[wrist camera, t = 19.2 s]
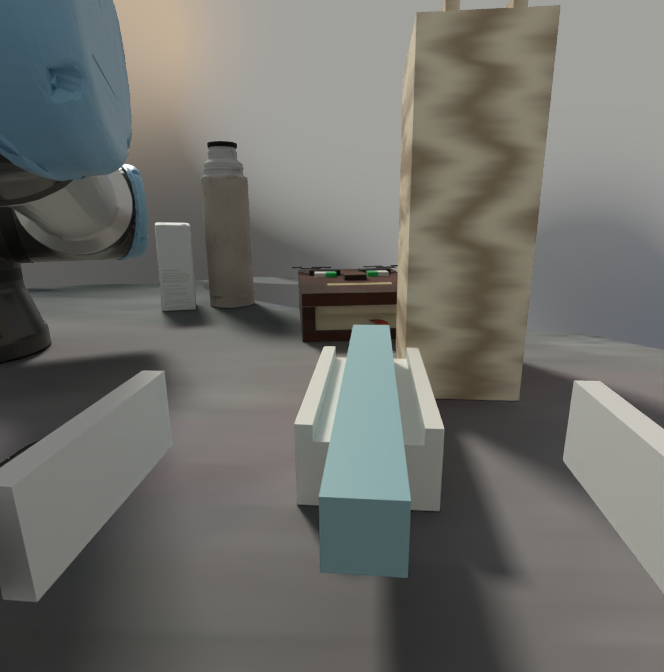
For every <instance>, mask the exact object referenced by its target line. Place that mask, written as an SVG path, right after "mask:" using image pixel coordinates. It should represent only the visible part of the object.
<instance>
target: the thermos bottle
mask: <svg viewBox="0 0 664 672" xmlns="http://www.w3.org/2000/svg"><path fill="white" fill-rule="evenodd" d="M207 145H208V148H209V151H208V160H207V161H206V162H205V163H204V169H203V170H204V176H202V177H201V192H202V203H203V214H204V215H203V216H204V227H205V228H204V229H205V241H206V253H207V265H208V277H209V290H210V303H211V306H214V307H219V308H235V307H244V306H249V305H252V304H254V290H253V271H252V253H251V236H250V217H249V199H248V183H247V182H248V181H247V177H245V176H243V167H242V166H243V165H242V163H240V162H239V161H238V160H237V153H236V150H235V149H236V148H237V144H236V143H233V142H226V141H215V142H208V143H207Z"/></svg>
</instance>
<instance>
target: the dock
mask: <svg viewBox="0 0 664 672" xmlns="http://www.w3.org/2000/svg"><path fill="white" fill-rule="evenodd" d="M345 363H346V358H336V346H324V348H323V350H322V353H321V355H320V358H319V361H318V363H317V366H316V369H315V371H314V374H313V376H312V379H311V382H310V384H309V387H308V389H307V392H306V395H305V397H304V400H303V403H302V405H301V408H300V410H299V413H298V416H297V418H296V421H295V423H294V433H295V462H296V491H297V504H298V505H319V493H320V488H321V483H322V478H323V473H324V468H325V463H326V458H327V453H328V448H329V443H330V438H331V433H332V428H333V423H334V418H335V413H336V408H337V403H338V398H339V393H340V388H341V383H342V378H343V373H344V368H345ZM394 368H395V376H396V384H397V392H398V400H399V408H400V416H401V424H402V432H403V440H404V448H405V456H406V465H407V473H408V481H409V489H410V497H411V510H423V511H440V497H441V481H442V464H443V448H444V431H445V429H444V426H443V423H442V419H441V416H440V413H439V410H438V407H437V404H436V401H435V398H434V395H433V392H432V389H431V386H430V383H429V379H428V376H427V373H426V370H425V367H424V364H423V361H422V358H421V355H420V352H419V349H418V348H406V359H394Z"/></svg>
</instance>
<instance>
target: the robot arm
mask: <svg viewBox="0 0 664 672" xmlns="http://www.w3.org/2000/svg"><path fill="white" fill-rule="evenodd" d="M125 64H126V63H125V55H124V49H123V43H122V37H121V32H120V27H119V21H118V18H117V13H116V10H115V6H114V3H113V0H0V362H3V361H7V360H12V359H15V358H19V357H23V356H26V355H29V354H32V353H35V352H37V351H39V350H42V349H44V348H45V347H47V346H48V345H49V344H50V343H51V338H50V333H49V327H48V325H47V323H46V322H45V321H44V320H43V319H42V317H41V315H40V313H39V311H38V309H37V307H36V305H35V303H34V301H33V299H32V298H31V296H30V294H29V292H28V291H27V289H26V287H25V284H24V280H23V276H22V270H21V263H30V262H31V263H34V262H48V261H78V260H105V259H117V260H126V259H128V258H136V257H140V256H142V255H143V254H144V253H145V251H146V249H147V243H148V242H147V241H148V239H147V234H148V221H147V207H146V199H145V192H144V187H143V182H142V180H141V176H140V172H139V171H138V169H137V168H136V167H134V166H132V165H125V164H124V163H125V162H126V159H127V157H128V149H129V146H130V141H131V108H130V93H129V84H128V77H127V70H126V65H125ZM172 446H173V443H172V434H171V425H170V416H169V407H168V398H167V389H166V381H165V372H164V371H145V370H142V371H141V372H139V373H138V374H137V375H135V376H134V377H132V378H131V379H129V380H128V381H126V382H125V383H123V384H122V385H120V386H119V387H118V388H116V389H115V390H113V391H112V392H110V393H109V394H107V395H106V396H104V397H103V398H101V399H100V400H99V401H97V402H96V403H94V404H93V405H91V406H90V407H88V408H87V409H85V410H84V411H82V412H81V413H80V414H78V415H77V416H75V417H74V418H72V419H71V420H69V421H68V422H66V423H65V424H63V425H62V426H61V427H59V428H58V429H56V430H55V431H53V432H52V433H50V434H49V435H47V436H46V437H44V438H43V439H41V440H39V441H37V442H34V443H32V444H30V445H28V446H26V447H24V448H23V449H21V450H20V451H18V452H17V453H15V454H14V455H12V456H11V457H10V459H6V460H5V461H3V462H2V463H0V588H1V593H2V597H3V600H15V601H29V602H38V601H39V600H40V598H41V597H42V596H43V595H44V594H45V593H46V591H47V590H48V589H49V588H50V587H51V586H52V584H53V583H54V582H55V581H56V580H57V579H58V578H59V576H60V575H61V574H62V573H63V572H64V571H65V569H66V568H67V567H68V566H69V565H70V564H71V562H72V561H73V560H74V559H75V558H76V557H77V556H78V554H79V553H80V552H81V551H82V550H83V549H84V547H85V546H86V545H87V544H88V543H89V542H90V540H91V539H92V538H93V537H94V536H95V535H96V534H97V532H98V531H99V530H100V529H101V528H102V527H103V525H104V524H105V523H106V522H107V521H108V520H109V518H110V517H111V516H112V515H113V514H114V513H115V512H116V510H117V509H118V508H119V507H120V506H121V505H122V503H123V502H124V501H125V500H126V499H127V498H128V496H129V495H130V494H131V493H132V492H133V491H134V490H135V488H136V487H137V486H138V485H139V484H140V483H141V481H142V480H143V479H144V478H145V477H146V476H147V474H148V473H149V472H150V471H151V470H152V469H153V468H154V466H155V465H156V464H157V463H158V462H159V461H160V459H161V458H162V457H163V456H164V455H165V454H166V452H167V451H168V450H169V449H170V448H171V447H172ZM563 461H564V463H565V464H566V465H567V467H568V468H569V469H570V471H571V472H572V473H573V475H574V476H575V477H576V478H577V480H578V481H579V482H580V484H581V485H582V486H583V488H584V489H585V490H586V492H587V493H588V494H589V496H590V497H591V498H592V500H593V501H594V502H595V504H596V505H597V506H598V507H599V509H600V510H601V511H602V513H603V514H604V515H605V517H606V518H607V519H608V521H609V522H610V523H611V525H612V526H613V527H614V529H615V530H616V531H617V533H618V534H619V535H620V537H621V538H622V539H623V540H624V542H625V543H626V544H627V546H628V547H629V548H630V550H631V551H632V552H633V554H634V555H635V556H636V558H637V559H638V560H639V562H640V563H641V564H642V566H643V567H644V568H645V570H646V571H647V572H648V573H649V575H650V576H651V577H652V579H653V580H654V581H655V583H656V584H657V585H658V587H659V588H660V589H661V591H662V592H663V593H664V429H663V428H662V427H660V426H659V425H658V424H656V423H655V422H654V421H652V420H651V419H650V418H648V417H647V416H646V415H644V414H643V413H642V412H640V411H639V410H638V409H636V408H635V407H634V406H632V405H631V404H630V403H628V402H627V401H626V400H624V399H623V398H622V397H620V396H619V395H618V394H616V393H615V392H614V391H612V390H611V389H610V388H608V387H607V386H606V385H604V384H603V383H602V382H600V381H574V384H573V391H572V398H571V405H570V412H569V419H568V426H567V433H566V440H565V447H564V454H563Z"/></svg>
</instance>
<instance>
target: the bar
mask: <svg viewBox="0 0 664 672" xmlns="http://www.w3.org/2000/svg"><path fill="white" fill-rule="evenodd" d="M410 514H411V497H410V489H409V481H408V473H407V465H406V456H405V448H404V440H403V432H402V424H401V416H400V408H399V400H398V392H397V384H396V376H395V368H394V359H393V351H392V343H391V335H390V327H389V325H353V328H352V333H351V338H350V343H349V348H348V353H347V358H346V363H345V368H344V373H343V378H342V383H341V388H340V393H339V398H338V403H337V408H336V413H335V418H334V423H333V428H332V433H331V438H330V443H329V448H328V453H327V458H326V463H325V468H324V473H323V478H322V483H321V488H320V493H319V536H320V572H321V573H337V574H353V575H369V576H385V577H401V578H408V563H409V539H410Z"/></svg>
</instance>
